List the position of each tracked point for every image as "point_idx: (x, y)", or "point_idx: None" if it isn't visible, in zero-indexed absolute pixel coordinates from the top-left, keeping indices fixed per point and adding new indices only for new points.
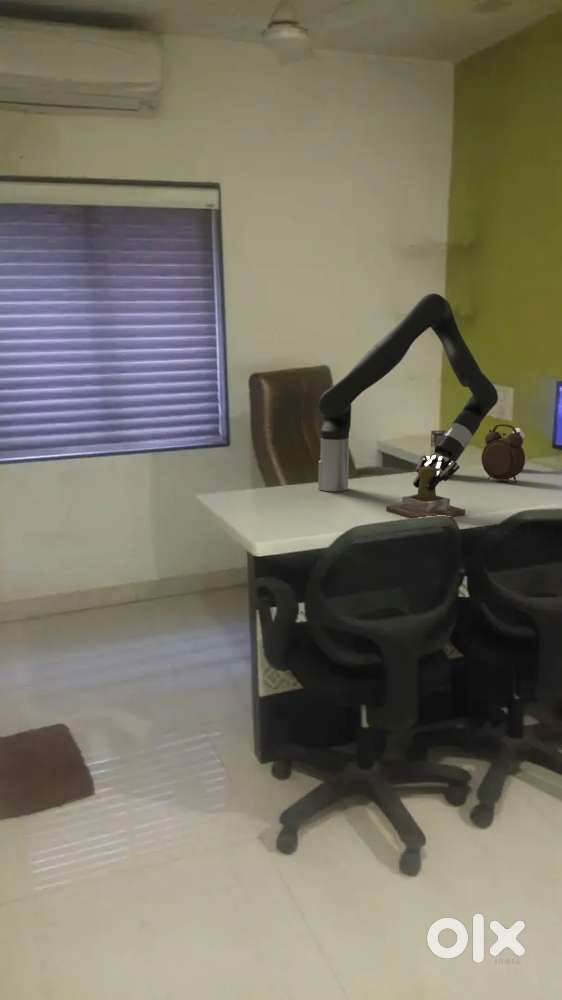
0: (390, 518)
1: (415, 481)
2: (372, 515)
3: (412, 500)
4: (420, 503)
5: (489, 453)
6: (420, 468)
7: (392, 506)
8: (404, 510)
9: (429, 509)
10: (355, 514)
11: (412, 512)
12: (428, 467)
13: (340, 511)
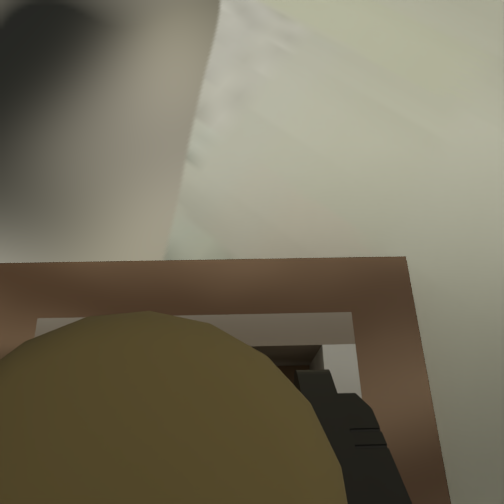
0: (225, 180)
1: (307, 386)
2: (337, 145)
3: (212, 317)
4: None
5: None
6: (203, 344)
7: (375, 284)
8: (230, 276)
9: None
10: (400, 93)
11: (150, 283)
12: (4, 499)
13: (494, 73)
